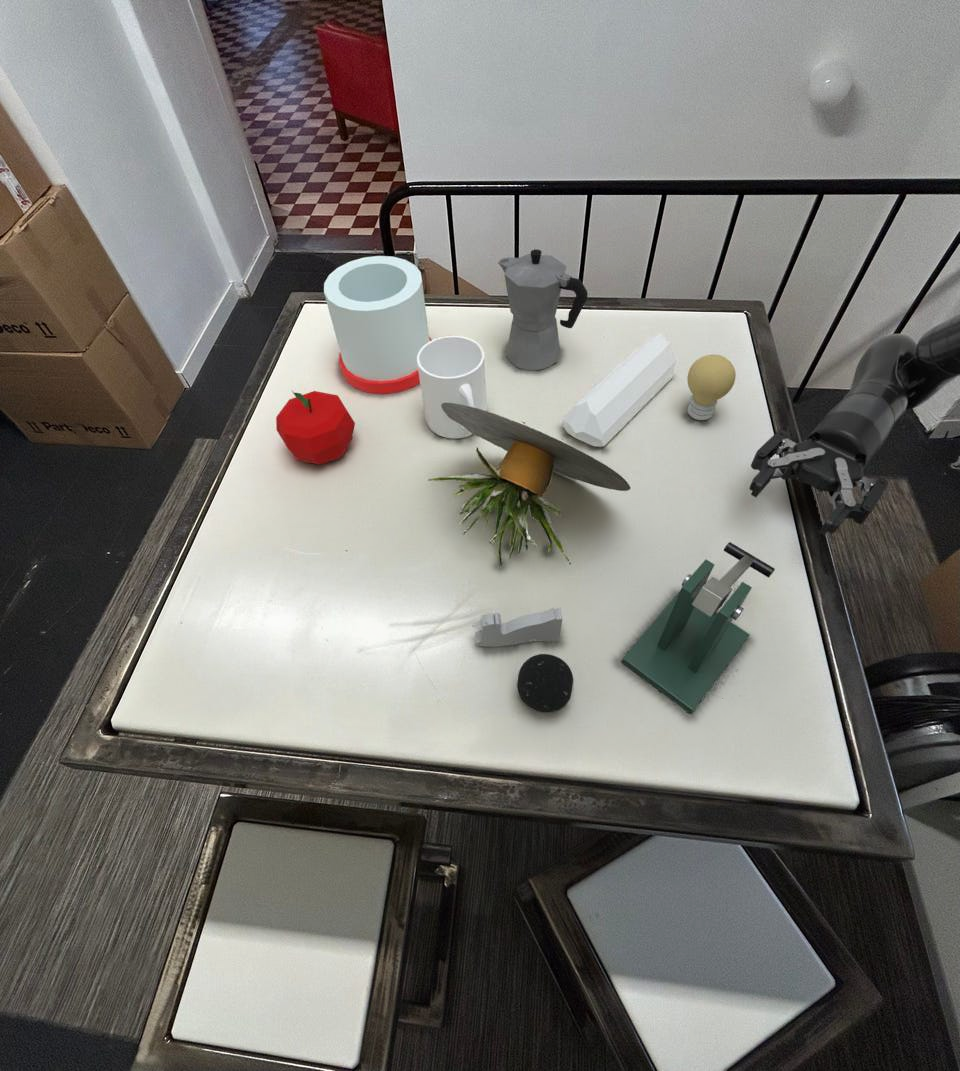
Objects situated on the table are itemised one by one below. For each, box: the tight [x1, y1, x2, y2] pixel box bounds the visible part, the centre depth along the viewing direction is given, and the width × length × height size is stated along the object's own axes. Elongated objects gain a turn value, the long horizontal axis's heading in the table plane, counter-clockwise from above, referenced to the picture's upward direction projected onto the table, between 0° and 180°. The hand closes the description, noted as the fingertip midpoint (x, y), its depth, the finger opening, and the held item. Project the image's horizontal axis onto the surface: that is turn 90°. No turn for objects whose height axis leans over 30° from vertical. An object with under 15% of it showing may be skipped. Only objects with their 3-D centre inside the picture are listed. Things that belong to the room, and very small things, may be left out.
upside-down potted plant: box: [427, 403, 631, 567], centre depth 76 cm, size 25×18×25 cm
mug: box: [417, 335, 488, 439], centre depth 89 cm, size 10×12×12 cm
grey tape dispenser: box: [471, 607, 564, 648], centre depth 69 cm, size 6×1×10 cm
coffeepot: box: [497, 248, 589, 372], centre depth 95 cm, size 15×9×18 cm, turn 55°
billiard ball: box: [516, 653, 575, 714], centre depth 65 cm, size 6×6×6 cm
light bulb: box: [686, 353, 736, 421], centre depth 89 cm, size 6×6×10 cm
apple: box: [275, 390, 356, 465], centre depth 88 cm, size 11×11×10 cm
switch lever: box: [692, 541, 776, 617], centre depth 64 cm, size 13×6×2 cm, turn 137°
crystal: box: [561, 332, 677, 447], centre depth 93 cm, size 7×7×24 cm
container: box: [323, 255, 433, 395], centre depth 97 cm, size 16×16×15 cm
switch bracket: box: [621, 558, 753, 715], centre depth 64 cm, size 12×9×14 cm
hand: (789, 510), depth 71 cm, fingers open, 8 cm apart
